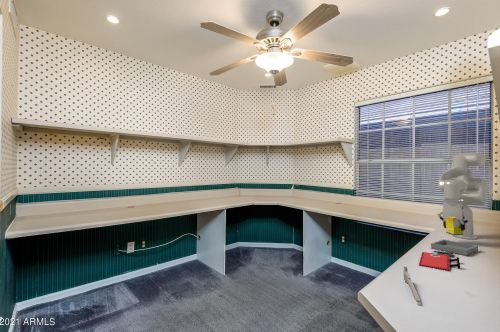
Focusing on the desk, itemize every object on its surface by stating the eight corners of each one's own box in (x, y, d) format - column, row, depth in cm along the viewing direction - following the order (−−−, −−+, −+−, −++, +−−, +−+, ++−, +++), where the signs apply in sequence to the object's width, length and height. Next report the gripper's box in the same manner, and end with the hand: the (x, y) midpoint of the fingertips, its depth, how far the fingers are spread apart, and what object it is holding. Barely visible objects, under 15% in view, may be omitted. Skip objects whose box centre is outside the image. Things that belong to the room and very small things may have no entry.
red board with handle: (458, 255, 127) (423, 250, 136) (457, 250, 127) (423, 245, 136) (461, 274, 103) (418, 267, 113) (460, 268, 104) (418, 261, 113)
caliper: (403, 280, 98) (402, 265, 98) (406, 281, 97) (405, 265, 98) (418, 306, 79) (417, 286, 79) (421, 306, 78) (421, 287, 79)
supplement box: (454, 232, 152) (453, 215, 152) (463, 235, 146) (462, 217, 146) (445, 232, 152) (444, 215, 152) (454, 235, 146) (453, 217, 146)
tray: (443, 244, 147) (443, 239, 147) (478, 251, 133) (477, 245, 133) (431, 248, 139) (430, 243, 139) (466, 256, 125) (466, 250, 125)
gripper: (473, 201, 143) (474, 230, 143) (438, 199, 158) (440, 225, 158) (468, 202, 140) (470, 233, 139) (433, 200, 155) (435, 227, 154)
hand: (454, 229), depth 149 cm, fingers closed on supplement box, 7 cm apart
